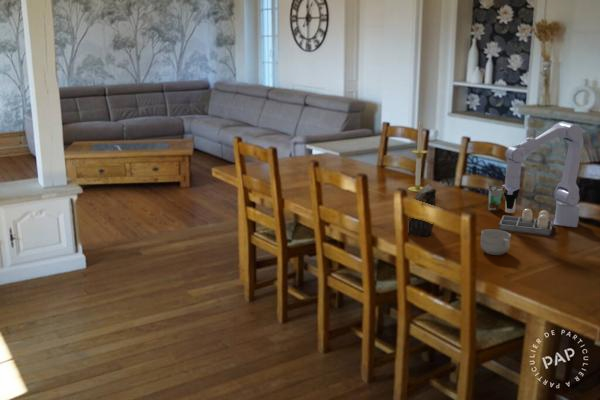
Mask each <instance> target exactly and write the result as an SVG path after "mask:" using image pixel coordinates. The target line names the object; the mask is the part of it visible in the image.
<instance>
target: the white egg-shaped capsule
mask: <svg viewBox="0 0 600 400" xmlns="http://www.w3.org/2000/svg"><path fill="white" fill-rule="evenodd" d="M516 201H517V198H516V199H515V202H514V206H513V208H512V209H507V205H506V203H505V205H504V207H505V209H504V212H505V213H508V214H514V213H516V206H517V205H516V204H517V202H516Z"/></svg>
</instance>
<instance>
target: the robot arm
mask: <svg viewBox="0 0 600 400" xmlns="http://www.w3.org/2000/svg"><path fill="white" fill-rule="evenodd" d="M583 132H584V130H583V128H582V127H581V126H580V125H579V124H575V123H570V122H566V121H562V120H561V121H559V122H558V123H555V124H553V126H552V127H551V128H548V129H546V131H545V132H543V133H541V134H540V135H538V136H536V137H535V138H534V137H526V138H525V140H523V141H522V142H520V143H516V145H515V146H513V145H512V146H509V147H508V148H507V149H506V151H505V152H504V157H505V159H506V168H505V169H506V170H505V181H504V182H505V183H504V184H502V185H501V187H502V188H504V189H505V191H504V190H503V192H504V194H503V195H504V198H505V204H506V205H507V209H512V208H513V206H514V202H515V199H516V200H517V197H518V195H519V192H520V191H521V189H520V188H521V187H520V183H521V174H522V173H521V172H522V171H521V170H522V162H523V161H524V160H525V158H526V157H527V156H529V155H531V154H532V153H534V152H536V151H538V150H539V148H540V146H542V145H543V144H546V143H547V142H549V141H552V140H554V139H555V138H562V139H563V140H564V141H565V142H566V143H567V145H568V147H567V153H566V157H565V163H564V168H563V174H562V179H561V181H560V182H558V183H557V186H556V188H555V190H554V192H553V197H554V199H555V202H556V207H555V216H554V217H555V218H554V219H553V223H552V226H553V225H554V226H561V227H569V228H570V227H571V228H578V223H579V222H580V218H579V214H580V205H579V204H578V203H579V201H580V188H579V186H578V184H577V178H578V173H579V167H580V163H581V157H582V154H583V147H584V144H585V143H584V137H583Z"/></svg>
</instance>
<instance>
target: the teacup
mask: <svg viewBox="0 0 600 400" xmlns="http://www.w3.org/2000/svg"><path fill="white" fill-rule="evenodd" d="M480 233H481V236H480V248H481V249H482V250H483V251H484V252H485V253H486V254H488V255H493V256H502V255H504V254H505V253H506V252H507V251H508V250H509V249H510V247H511V237H512V234H511V233H510V232H509V231H503V230H499V229H492V228H491V229H489V228H488V229H483V230H481V232H480Z"/></svg>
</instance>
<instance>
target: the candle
mask: <svg viewBox="0 0 600 400" xmlns="http://www.w3.org/2000/svg"><path fill="white" fill-rule="evenodd" d="M423 126H424V125H423V121H422V118H420V119H419V122H418V126H417V146H416V147H417V149H413V150H410V152H411V154H416V157H415V158H416V161H415V162H416V163H415V185H414V186H410V187H408V188H407V190H408V191H409V192H413V193H415V192H416V193H418V192H419V191H420V190H421V189H422V188H423V186H421V179H422V178H421V173H422V154H428V150H425V149H422V147H423V146H422V145H423V144H422V143H423Z"/></svg>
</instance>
